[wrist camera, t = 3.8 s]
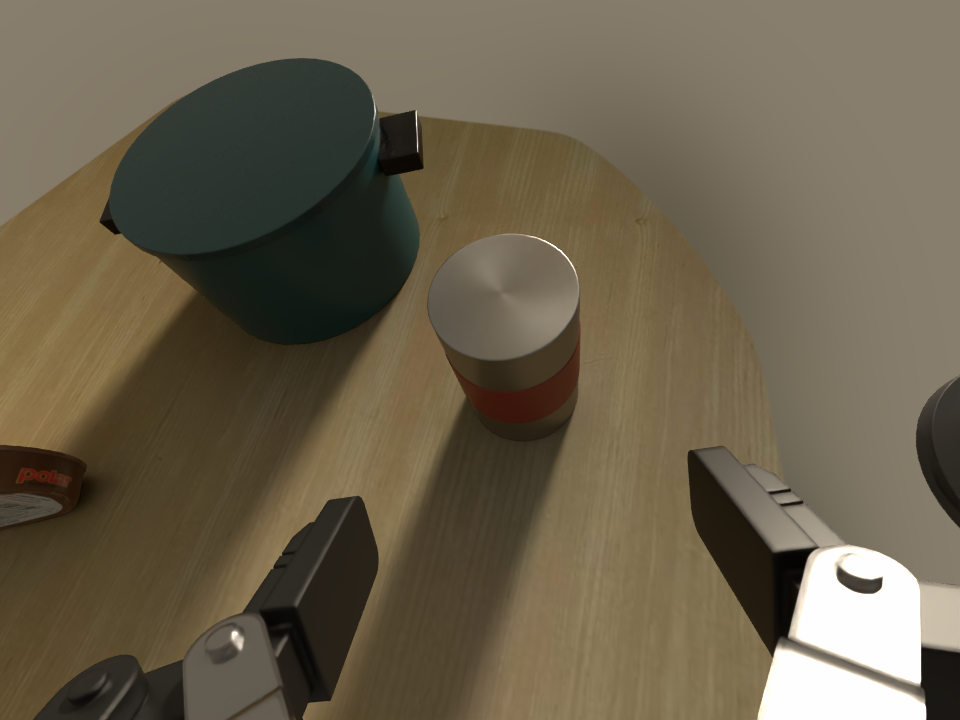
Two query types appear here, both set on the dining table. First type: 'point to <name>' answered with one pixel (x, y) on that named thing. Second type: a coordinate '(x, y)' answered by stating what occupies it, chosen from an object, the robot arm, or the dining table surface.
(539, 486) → the dining table surface
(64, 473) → the tin
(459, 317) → the can
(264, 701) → the robot arm
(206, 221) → the pot
